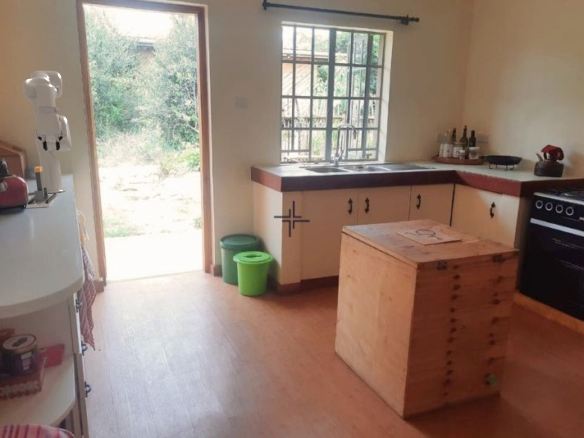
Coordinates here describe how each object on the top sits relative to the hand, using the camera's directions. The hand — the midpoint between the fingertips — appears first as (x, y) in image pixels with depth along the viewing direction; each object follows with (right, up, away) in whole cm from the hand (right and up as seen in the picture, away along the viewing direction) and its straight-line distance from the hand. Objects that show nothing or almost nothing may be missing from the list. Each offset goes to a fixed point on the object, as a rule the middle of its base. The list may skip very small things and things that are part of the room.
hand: (52, 149), depth 216 cm
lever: (-7, -21, +3) cm, 22 cm away
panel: (-7, -25, +4) cm, 26 cm away
